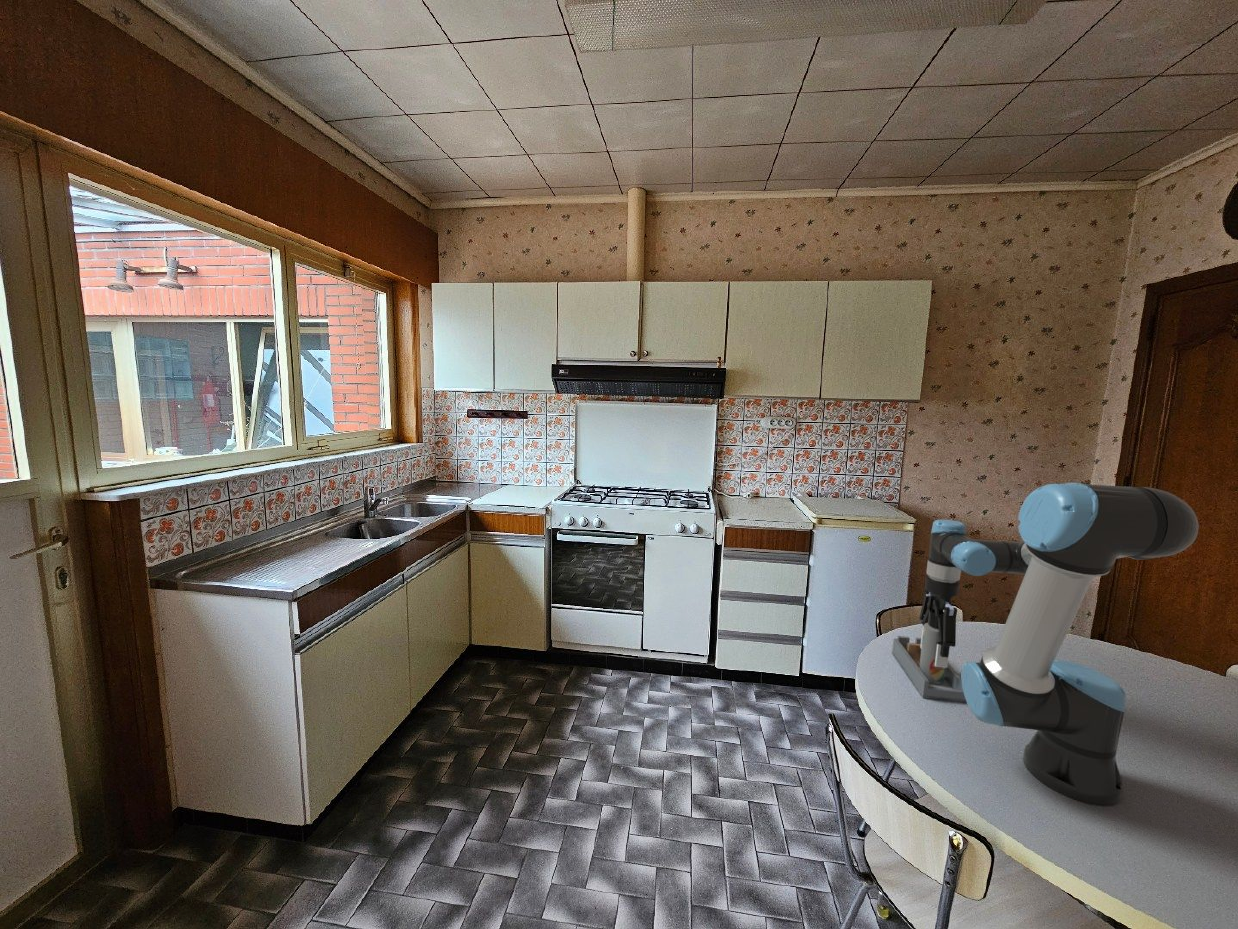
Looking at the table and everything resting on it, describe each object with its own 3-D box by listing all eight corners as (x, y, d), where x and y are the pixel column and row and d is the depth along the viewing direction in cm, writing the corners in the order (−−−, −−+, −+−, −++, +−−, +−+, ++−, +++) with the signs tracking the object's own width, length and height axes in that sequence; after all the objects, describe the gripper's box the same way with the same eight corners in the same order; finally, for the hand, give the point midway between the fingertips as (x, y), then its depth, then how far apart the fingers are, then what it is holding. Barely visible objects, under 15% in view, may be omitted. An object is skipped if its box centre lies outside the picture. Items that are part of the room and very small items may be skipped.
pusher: (935, 667, 142) (937, 647, 141) (907, 664, 143) (909, 644, 142) (924, 654, 149) (927, 635, 148) (898, 651, 150) (900, 633, 149)
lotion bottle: (947, 685, 133) (955, 614, 131) (926, 685, 134) (933, 614, 131) (934, 673, 139) (941, 605, 136) (914, 673, 139) (920, 605, 136)
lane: (965, 704, 127) (968, 682, 127) (922, 698, 129) (925, 677, 128) (928, 657, 150) (930, 639, 149) (892, 653, 152) (894, 635, 151)
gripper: (979, 595, 121) (968, 681, 124) (940, 565, 142) (931, 640, 145) (945, 592, 123) (935, 677, 126) (911, 563, 143) (903, 637, 147)
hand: (933, 657), depth 136 cm, fingers open, 9 cm apart
